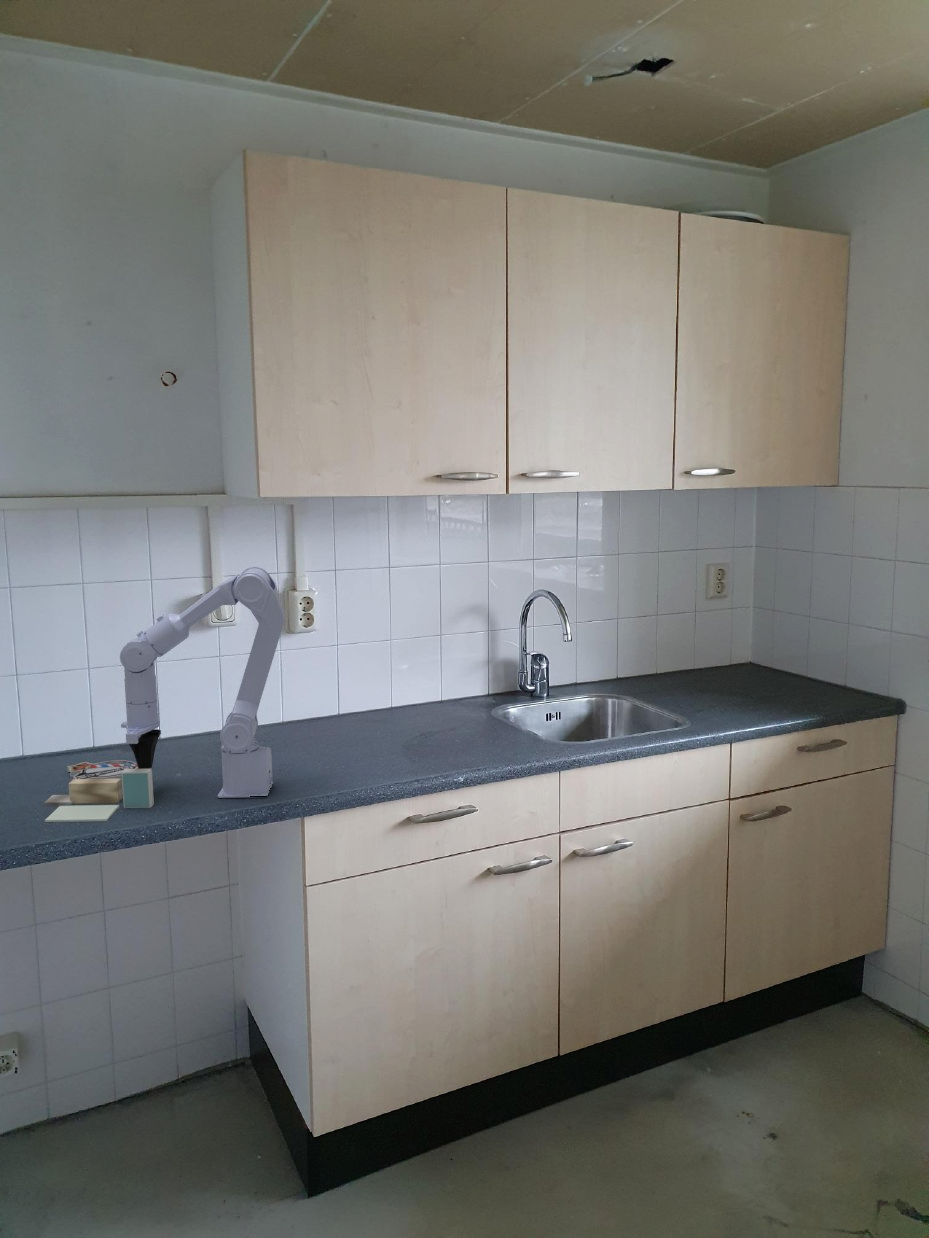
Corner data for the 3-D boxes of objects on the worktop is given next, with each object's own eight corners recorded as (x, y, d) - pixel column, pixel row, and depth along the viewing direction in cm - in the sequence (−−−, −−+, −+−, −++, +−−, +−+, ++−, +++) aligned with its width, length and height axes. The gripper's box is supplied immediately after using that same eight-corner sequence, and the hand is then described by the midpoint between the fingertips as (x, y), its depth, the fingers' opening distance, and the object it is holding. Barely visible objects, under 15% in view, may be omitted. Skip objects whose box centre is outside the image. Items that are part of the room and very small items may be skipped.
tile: (153, 803, 177) (151, 768, 176) (150, 807, 175) (148, 772, 174) (127, 804, 177) (124, 768, 176) (123, 808, 175) (121, 772, 174)
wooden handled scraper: (123, 796, 181) (122, 777, 180) (116, 804, 177) (115, 784, 176) (52, 797, 180) (51, 778, 180) (44, 805, 176) (42, 785, 176)
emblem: (151, 770, 192) (72, 782, 185) (151, 778, 192) (73, 790, 185) (140, 754, 203) (66, 764, 196) (141, 761, 203) (66, 772, 196)
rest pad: (119, 806, 175) (119, 804, 175) (106, 821, 168) (106, 819, 168) (60, 807, 175) (59, 805, 175) (44, 822, 168) (44, 820, 168)
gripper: (132, 691, 185) (136, 756, 187) (107, 710, 171) (112, 781, 173) (168, 691, 185) (171, 756, 188) (146, 710, 171) (150, 781, 173)
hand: (145, 768), depth 180 cm, fingers closed
